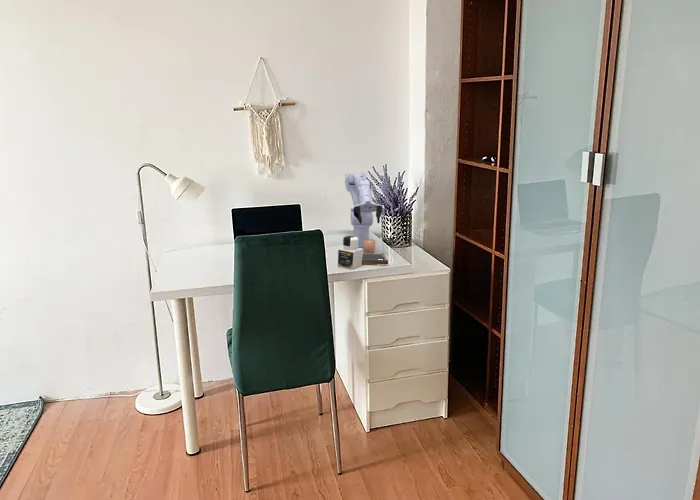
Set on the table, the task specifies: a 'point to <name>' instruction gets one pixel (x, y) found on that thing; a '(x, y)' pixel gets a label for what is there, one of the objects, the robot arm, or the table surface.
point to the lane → (375, 261)
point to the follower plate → (371, 256)
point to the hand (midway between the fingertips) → (369, 221)
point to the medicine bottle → (350, 253)
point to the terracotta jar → (369, 246)
